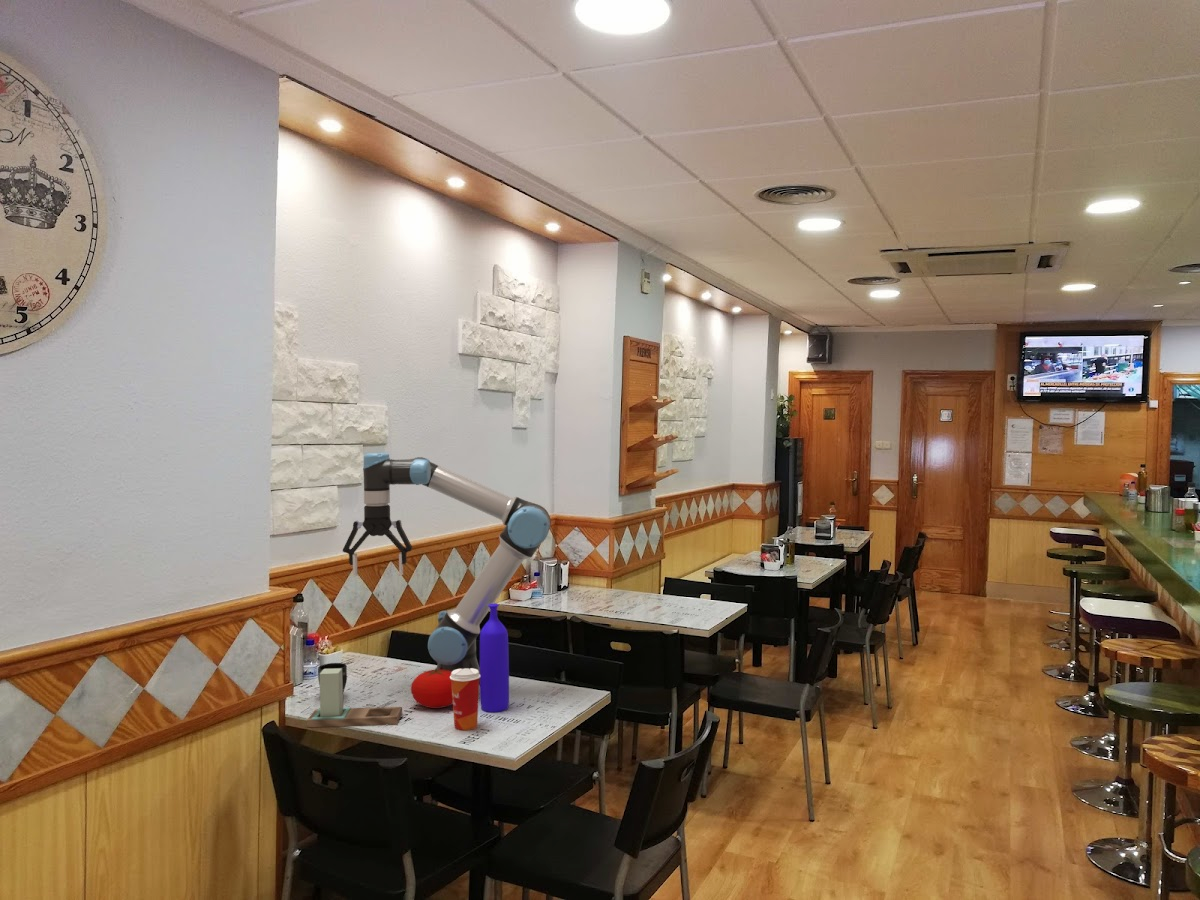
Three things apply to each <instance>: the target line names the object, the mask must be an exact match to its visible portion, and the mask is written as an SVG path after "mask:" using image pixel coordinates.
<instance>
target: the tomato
mask: <svg viewBox="0 0 1200 900" xmlns="http://www.w3.org/2000/svg"><path fill="white" fill-rule="evenodd" d="M451 673H452V672H451V671H449V670H443V669H436V668H435V669H430V670H425V671H423V672H422V673H420V674H418V675H417V676H416V677H415V678H414V679H413V681H412V683H411V685H410V693H411V695H412V698H413V699H414V700H415V701H416V703H418V704H419V705H420V706H424V707H426V708H431V709H433V708H434V709H440V708H445V707H449V706H452V705H453V700H452V686H451V679H450V676H451Z"/></svg>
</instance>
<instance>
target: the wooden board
mask: <svg viewBox="0 0 1200 900" xmlns="http://www.w3.org/2000/svg"><path fill="white" fill-rule="evenodd" d="M402 715H403V706H386V707H385V706H384V707H383V706H381V707H380V706H379V707H378V706H377V707H351V706H347V707H345V706H343V714H342V716H337V717H320V707H319V708H318V709H317V708H315V709H314V710H313V712H312V713H311V714H310V715H309V717H308V718H307V719H306V727H307V728H323V727H324V728H325V727H326V728H329V727H332V728H333V727H355V726H359V727H360V726H361V727H363V726H386V724H388V725H387V726H389V725H390V726H391V725H392V726H393V725H397V724H398V723H399V721H400V719H401V717H402Z"/></svg>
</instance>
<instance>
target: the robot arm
mask: <svg viewBox="0 0 1200 900" xmlns="http://www.w3.org/2000/svg"><path fill="white" fill-rule="evenodd" d="M362 470H363V471H362V472H363V504H364V507H363V510H364V511H363V514H364V515H363V521H359V520H355V521H354V522H353V525H352V531H350V534H349V536H348V538H347V540H346V543H345V544H344V547H343V548H342V552H343V553H346V554H348V560H349V561H348V564H349V566H352V577H354V578H355V577H357V576H358V553H356V551H357V550H358V549H359V548H360V547H361V545H362V544H363V543H364V542H365V540H366V539H367V538H368V537H369V536H371V537H376V536H379V537H383V536H386V537H387V538H388V539H389V540H390V541H391V542H392V544H393V545H394V546H395V547H396V548H397V549H398V551H400V553H398V572H399V573H398V575H399V576H403V575H404V565H405V564H406V563H407V560H408V558H407V555H408V554H407V553H409V552H411V551H412V550H413V545H412V544H411V541H410V540H409V538H408V536H407V533H405V530H404V529H403V527H402V526H403V524H402V520H401V519H397V520H394V521H392V520H391V506H390V504H391V497H390V495H391V491H390V487H391V485H393V486H394V485H416V486H419V485H422V486H424V487H426V488H429V489H432V490H434V491H436V492H438V493H441V494H442V495H446V496H447V497H450V498H451V499H454V500H456V501H458V502H459V503H462V504H465V505H467V506H469V507H472V508H473V509H476V510H478V511H481V512H482V513H485V514H487V515H489V516H491V517H494V518H496V519H499V520H500V521H501V522H502V524H503V525H504V526H505V527H504V529H502V532H500V534H499V535H498V537H499V544H498V546H497V548H496V549H495V550H494V552H493V553H492V555H491V556H490V557H489V559H488V560H487V562H486V564H485V565H484V567H483V568H482V569H481V571H480V573H479V574H478V575H477V577H476V578H475V580H474V581H473V582H472V584H471V585H470V587H469V589H468V590H467V591H466V593H465V594H464V596H463V597H462V598H461V600H460V601H459V602H458V604H457V605H456V607H455V608H453V609H452V608H451V609H448V610H441V611H439V612H438V616H437V623H438V625H436V628H435V629H434V630H433V631H432V632H431V634H430V635H429V636H428V641H427V649H428V653H429V655H430V657H431V658H432V659H433V660H434V661H435V662H436V663H437V665H436V667H435V669H443V670H449V671H451V672H452V671H454V670H456V669H461V668H462V669H464V668H468V669H470V668H474V669H477V670H478V671H479V674H480V664H479V662H478V659H477V637H478V636H480V632H481V628H480V624H481V623H482V621H483V620H484V618H485V617H486V616H487V614H488V613H489V612H490V607H488V605H489V604H495V602H496V601H497V599H498V598H499V596H500V595H501V594H502V593H503V591H504V589H505V588H506V586H507V585H508V584H509V582H510V580H512V578H513V576H514V575H515V574H516V571H517V570H518V569H519V567H520V566H521V565H522V563H523V561H524V560H528V559H532V557H533V556H534V554H535V553H536V552H537V550H538V548H539V547H540V546H541V544H542V543H543V542H544V541H545V540H546V539H547V537H548V535H549V532H550V529H551V523H552V520H551V516H550V514H549V512H548V511H547V510H546V508H545V507H543V506H542V505H540V504H537V503H534V502H531V501H528V500H526V499H523V498H520V497H518V496H513V497H510V496H508V495H506V494H504V493H502V492H498V491H497V490H494V489H492V488H489V487H487V486H485V485H483V484H482V483H478V482H476V481H473V480H472V479H469V478H467V477H465V476H463V475H461V474H458V473H456V472H455V471H452V470H449V469H447V468H445V467H443V466H441V465H438V464H436V463H433V462H432V461H430V460H429V459H428V458H425V457H423V456H420V457H419V456H418V457H414V458H410V459H409V458H408V459H406V458H405V459H391V458H390V454H389V453H386V452H371V453H370V452H369V453H366V454H365V455H364V456H363V467H362ZM392 526H393V528H395V529H396V531H397V532H398V534H399V537H400V538H401V540H402V542H403V544H402V542H400V541H399V539H398V538H397V537H396V535H394V533H393V532H392V531H391V530H390V528H391V527H392ZM361 527H363V528H364V529H365V531H364V532H363V534H362V535H361V536H360V537H359V539H358V540H357V542H356V543H355V544H354V545H353V546H352V547H351V545H352V543H353V541H354V539H355V537H356V535H357V533H358V530H359V529H361ZM350 547H351V548H350ZM479 686H480V678H479Z"/></svg>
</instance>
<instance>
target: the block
mask: <svg viewBox="0 0 1200 900" xmlns="http://www.w3.org/2000/svg"><path fill="white" fill-rule="evenodd" d="M343 707H344V693H343V681H342V668H334V669H323V670H322V672H321V673H320V685H319V708H320V717H337V716H342V714H343Z"/></svg>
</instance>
